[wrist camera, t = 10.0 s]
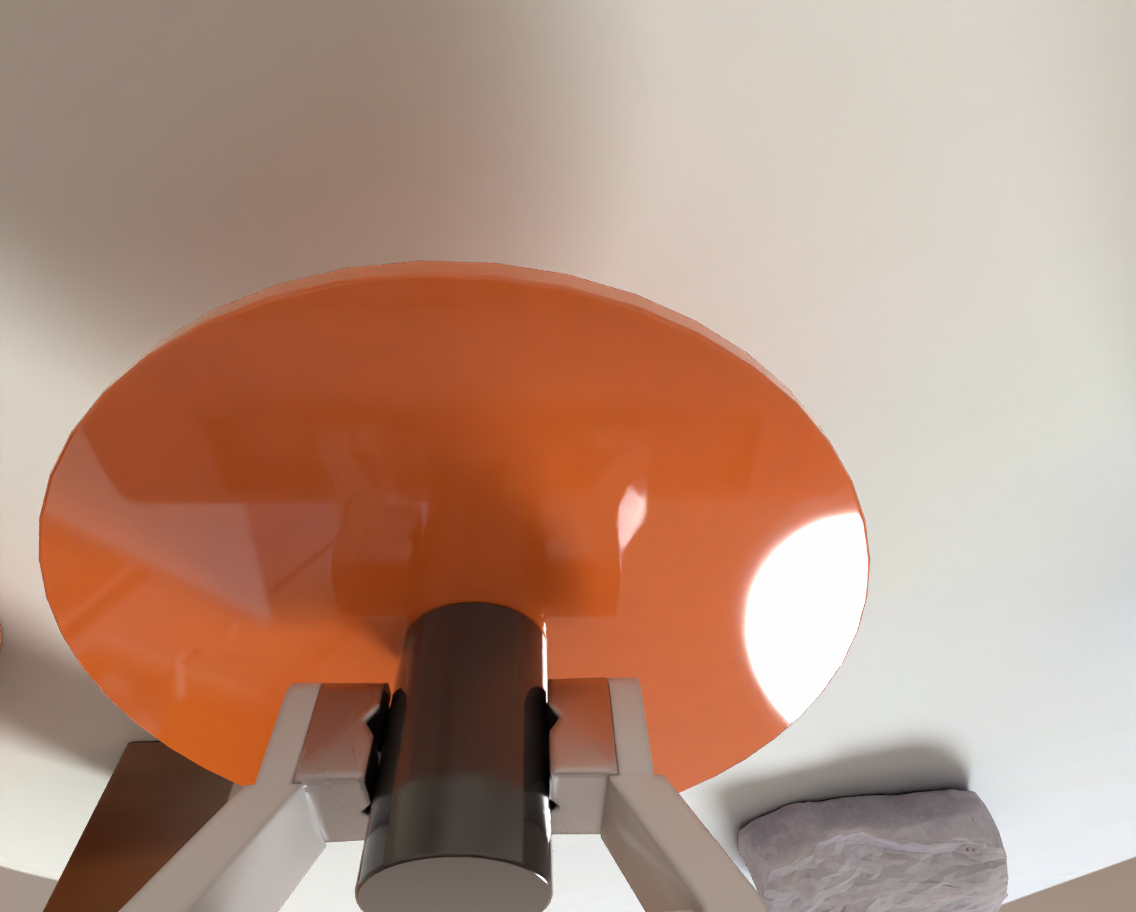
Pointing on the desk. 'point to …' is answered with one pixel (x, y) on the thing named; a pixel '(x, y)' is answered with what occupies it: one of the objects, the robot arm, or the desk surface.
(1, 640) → the pan
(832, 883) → the stone block
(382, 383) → the pan lid
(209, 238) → the desk surface
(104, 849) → the block
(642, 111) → the desk surface
